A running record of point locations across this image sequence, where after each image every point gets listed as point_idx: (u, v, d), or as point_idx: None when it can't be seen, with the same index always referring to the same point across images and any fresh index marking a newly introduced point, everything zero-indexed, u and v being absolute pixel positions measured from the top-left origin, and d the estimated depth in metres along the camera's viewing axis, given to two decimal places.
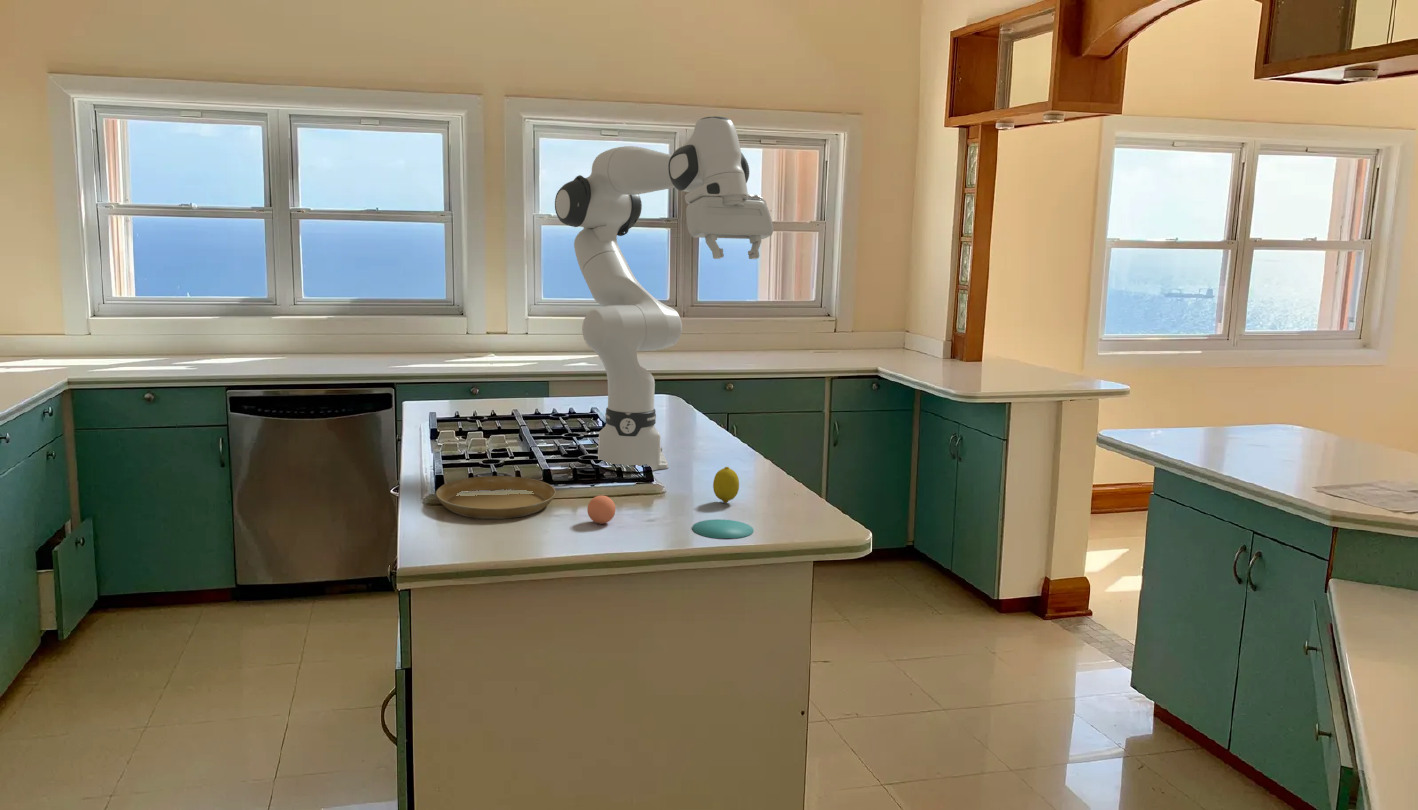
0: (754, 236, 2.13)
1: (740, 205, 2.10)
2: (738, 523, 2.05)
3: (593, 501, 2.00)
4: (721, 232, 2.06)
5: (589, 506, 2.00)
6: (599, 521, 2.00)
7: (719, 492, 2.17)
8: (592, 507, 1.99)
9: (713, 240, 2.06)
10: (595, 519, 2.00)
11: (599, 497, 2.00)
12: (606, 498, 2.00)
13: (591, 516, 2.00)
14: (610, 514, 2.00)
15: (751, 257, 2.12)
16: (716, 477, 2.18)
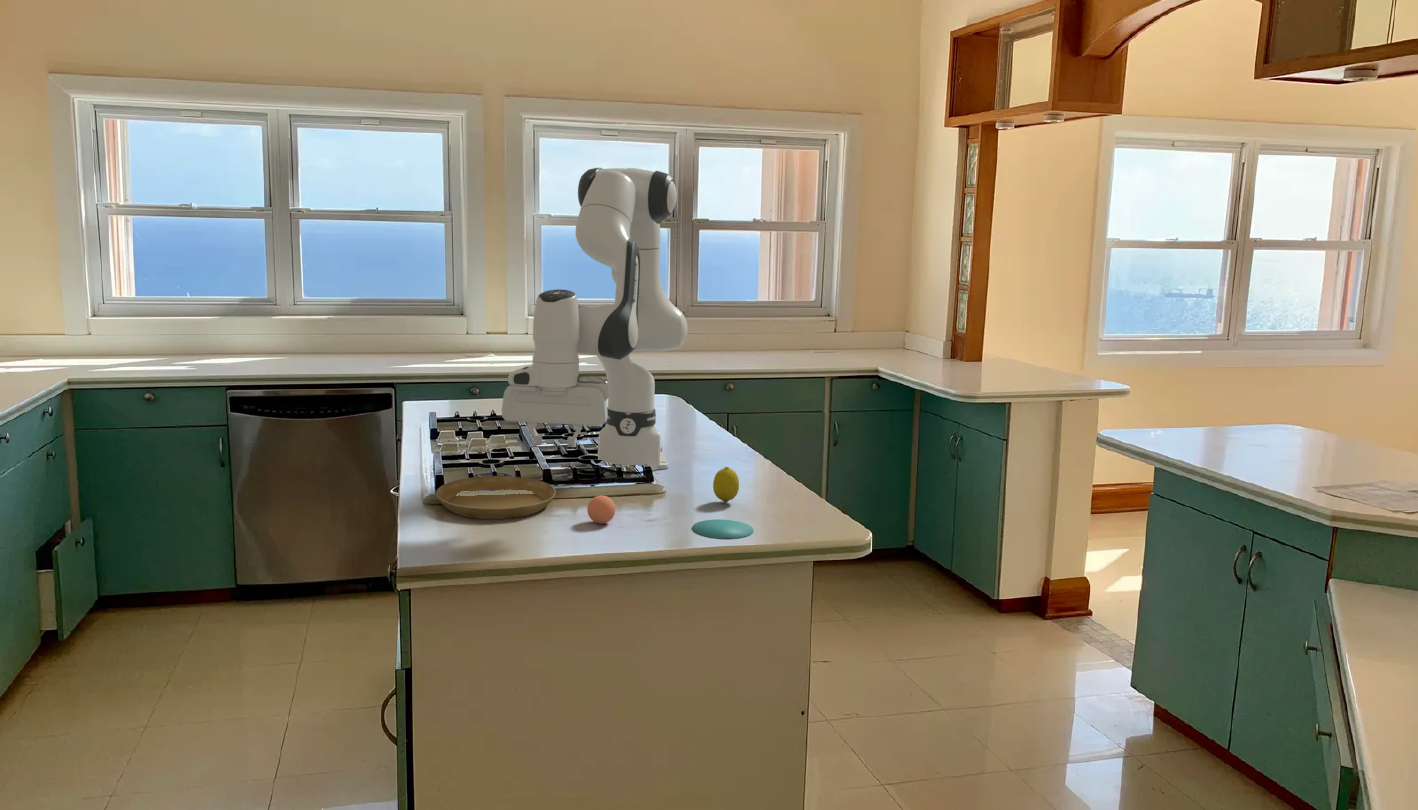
0: None
1: (559, 394, 1.95)
2: (738, 523, 2.05)
3: (593, 501, 2.00)
4: (531, 421, 1.97)
5: (589, 506, 2.00)
6: (599, 521, 2.00)
7: (719, 492, 2.17)
8: (592, 507, 1.99)
9: (529, 428, 1.98)
10: (595, 519, 2.00)
11: (599, 497, 2.00)
12: (606, 498, 2.00)
13: (591, 516, 2.00)
14: (610, 514, 2.00)
15: None
16: (716, 477, 2.18)
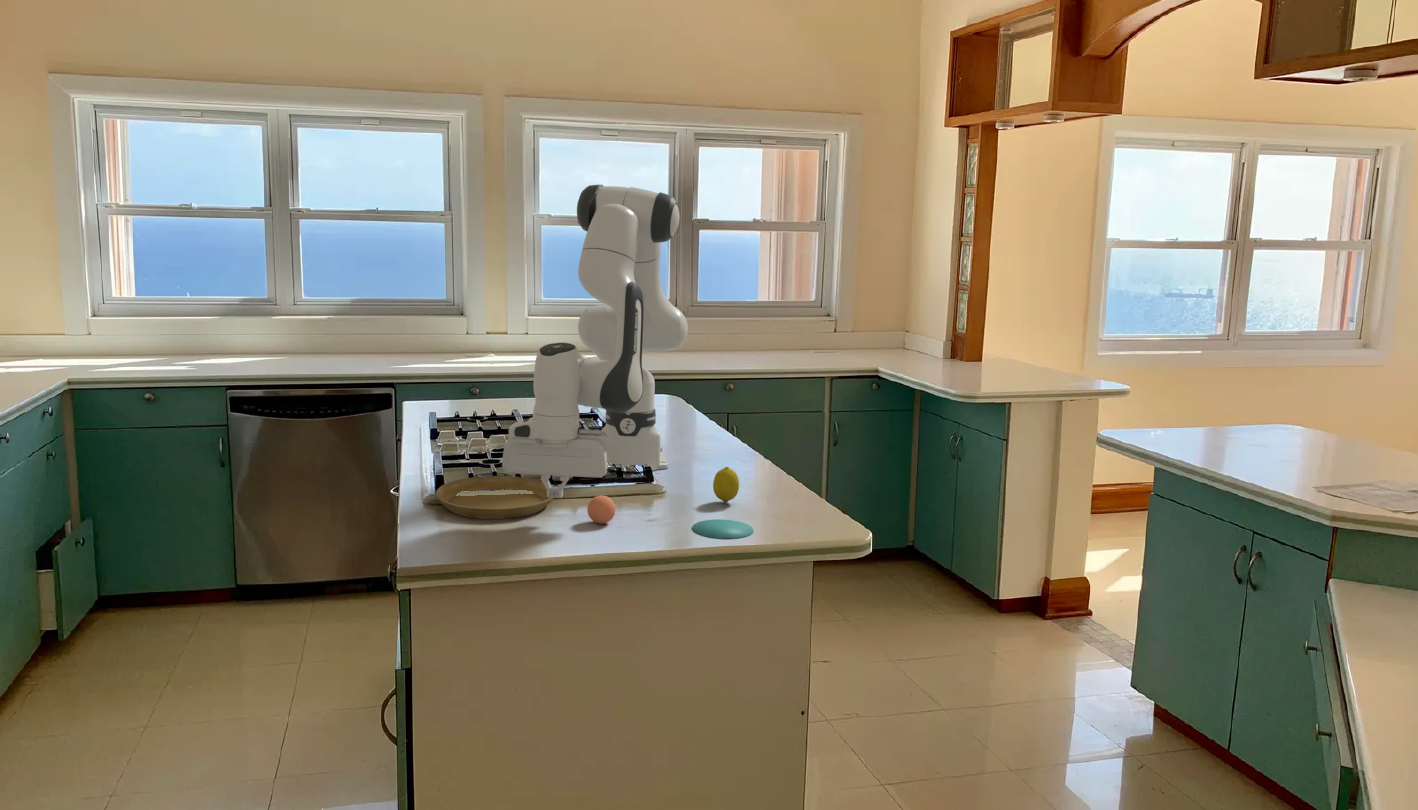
0: None
1: None
2: (738, 523, 2.05)
3: (593, 501, 2.00)
4: (531, 473, 1.98)
5: (589, 506, 2.00)
6: (599, 521, 2.00)
7: (719, 492, 2.17)
8: (592, 507, 1.99)
9: (543, 480, 1.99)
10: (595, 519, 2.00)
11: (599, 497, 2.00)
12: (606, 498, 2.00)
13: (591, 516, 2.00)
14: (610, 514, 2.00)
15: None
16: (716, 477, 2.18)
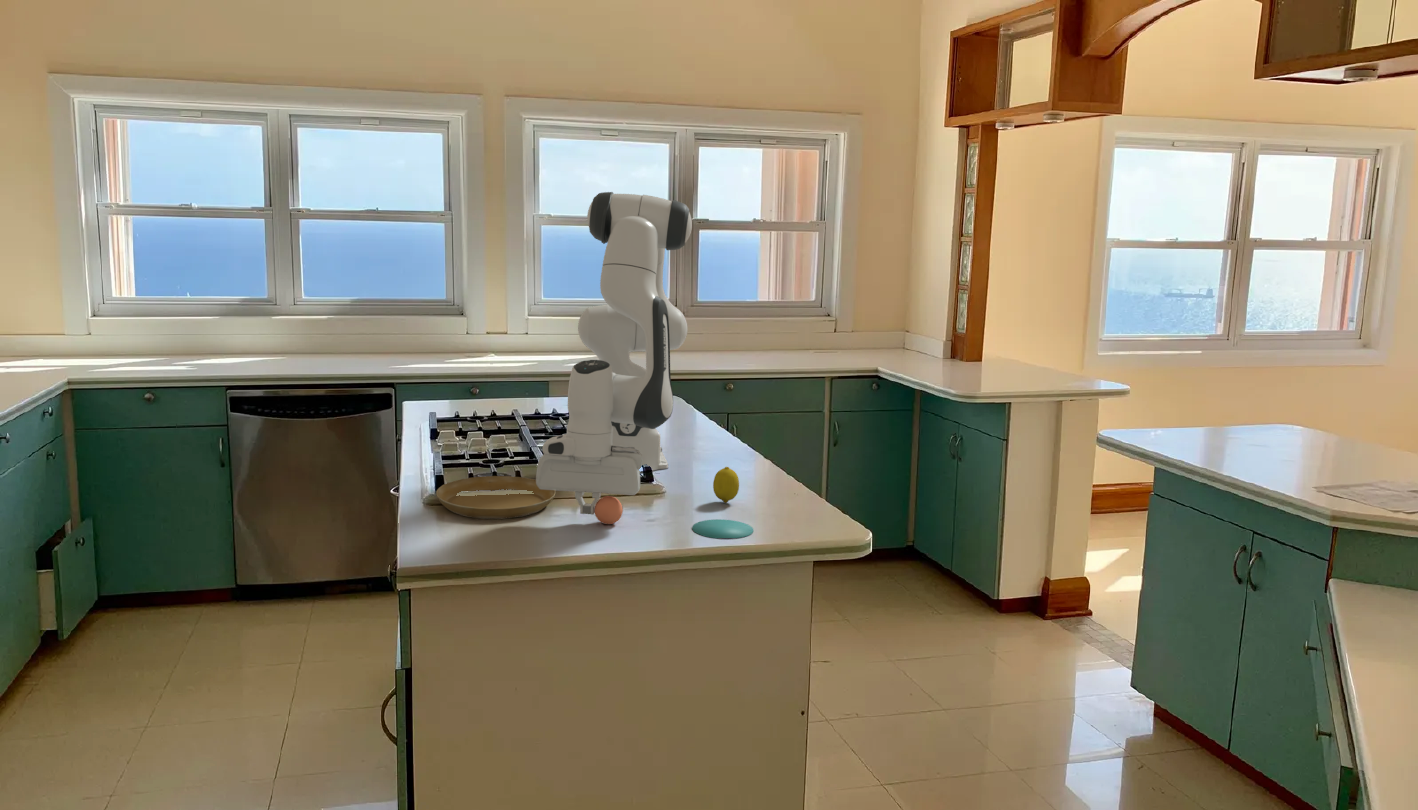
0: None
1: None
2: (738, 523, 2.05)
3: (603, 501, 1.99)
4: (564, 490, 1.99)
5: (598, 505, 1.99)
6: (604, 522, 2.00)
7: (719, 492, 2.17)
8: (602, 506, 1.99)
9: (576, 497, 2.00)
10: (601, 519, 1.99)
11: (610, 498, 2.00)
12: (616, 501, 2.00)
13: (598, 515, 1.99)
14: (617, 517, 2.00)
15: None
16: (716, 477, 2.18)
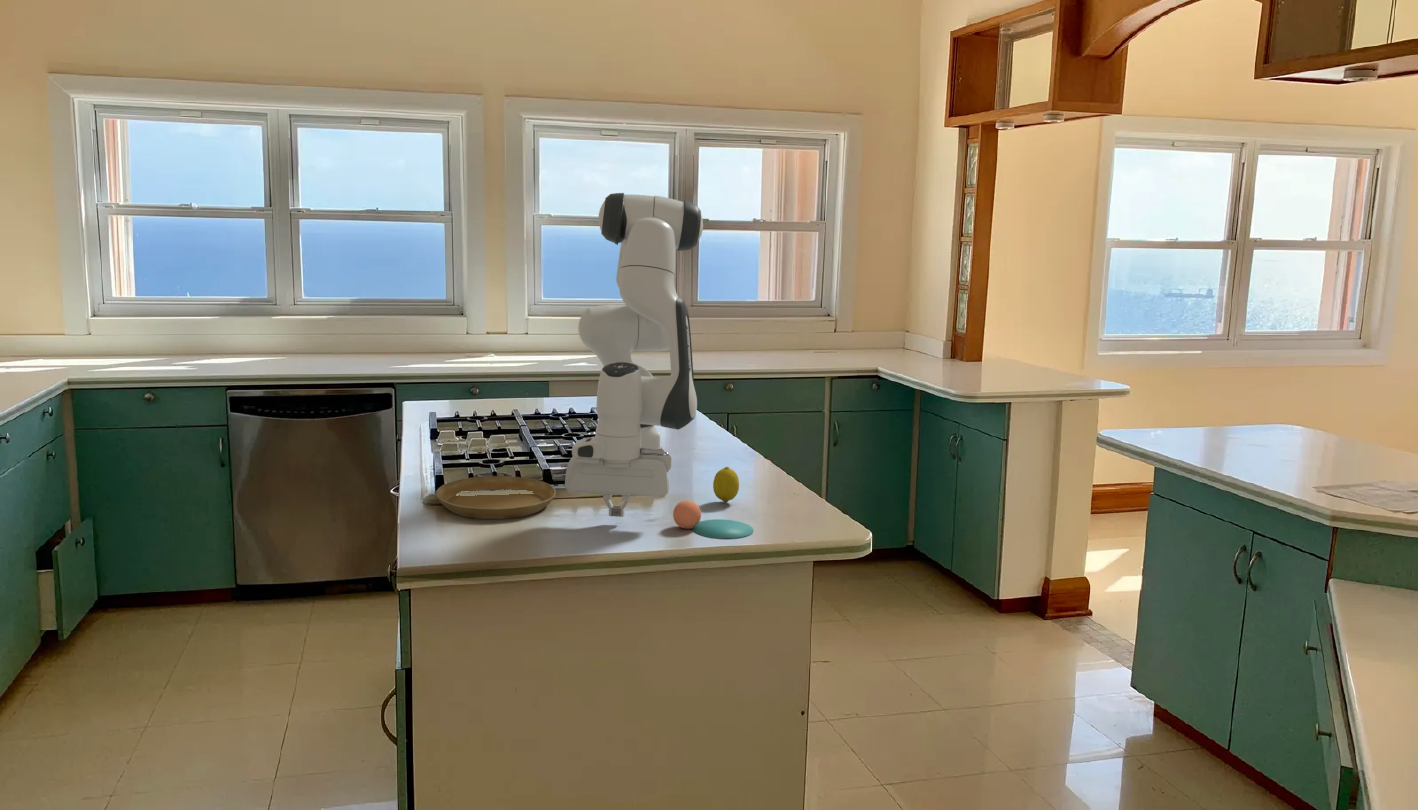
0: (622, 494, 2.00)
1: None
2: (738, 523, 2.05)
3: (676, 510, 1.99)
4: (594, 492, 1.99)
5: (675, 516, 1.99)
6: (690, 525, 1.99)
7: (719, 492, 2.17)
8: (678, 515, 1.98)
9: (605, 500, 2.00)
10: (686, 525, 1.99)
11: (680, 504, 1.99)
12: (687, 502, 1.99)
13: (681, 524, 1.99)
14: (697, 514, 1.99)
15: None
16: (716, 477, 2.18)
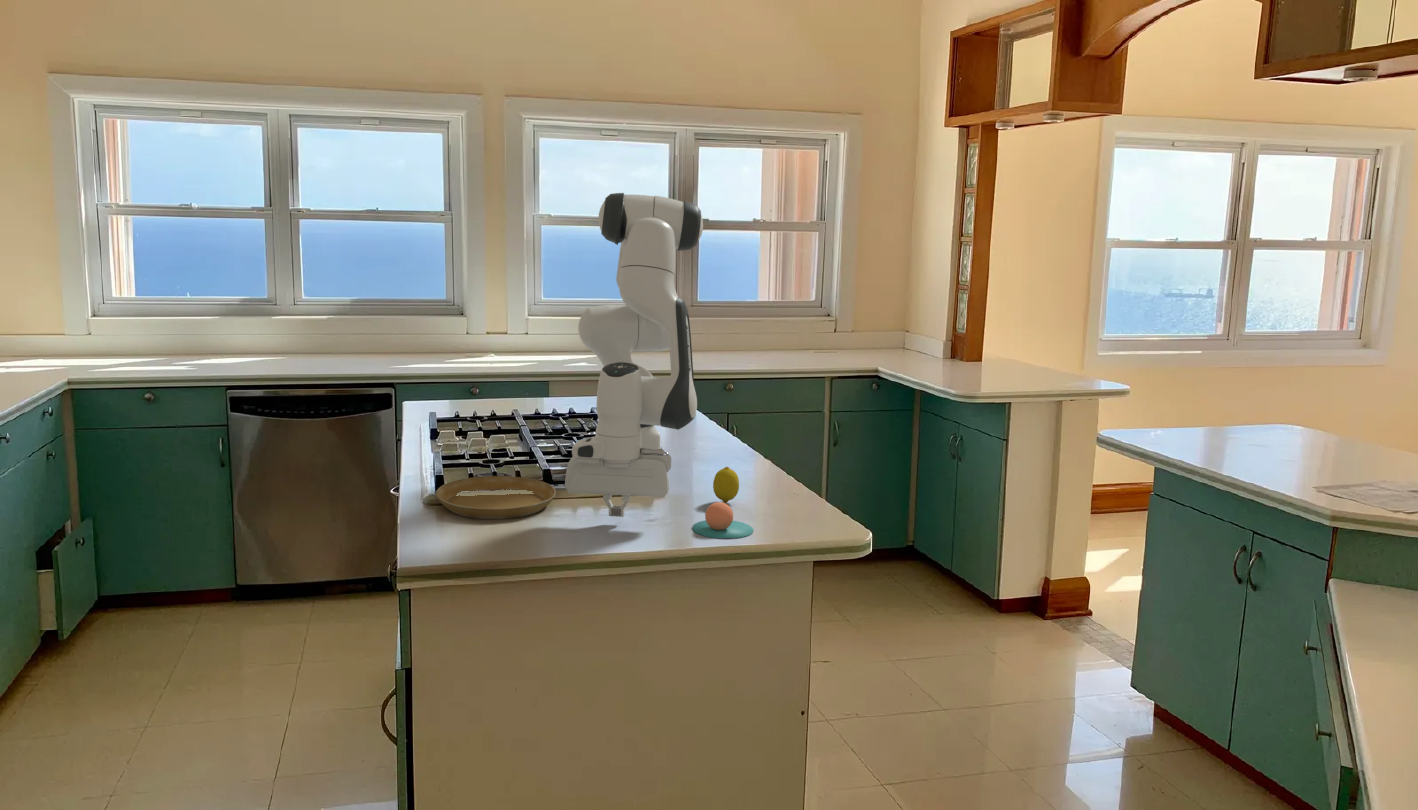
0: (622, 494, 2.00)
1: None
2: (738, 523, 2.05)
3: (730, 514, 1.99)
4: (594, 492, 1.99)
5: (726, 510, 1.98)
6: (709, 516, 1.98)
7: (719, 492, 2.17)
8: (725, 515, 1.98)
9: (605, 500, 2.00)
10: (712, 513, 1.98)
11: (732, 520, 1.99)
12: None
13: (716, 510, 1.98)
14: (713, 528, 1.99)
15: None
16: (716, 477, 2.18)
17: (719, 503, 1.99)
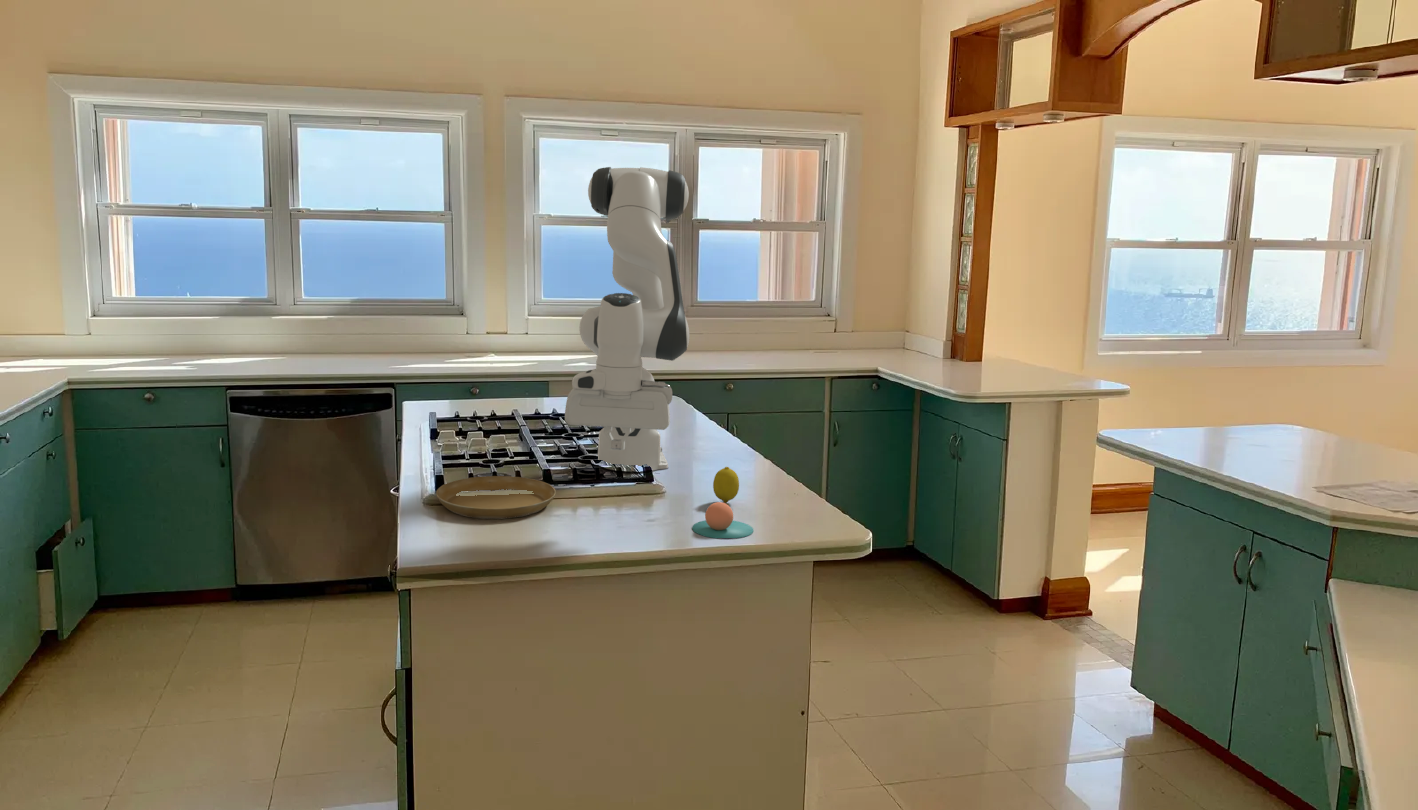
0: None
1: (623, 398, 1.95)
2: (738, 523, 2.05)
3: (730, 514, 1.99)
4: (594, 425, 1.97)
5: (726, 510, 1.98)
6: (709, 516, 1.98)
7: (719, 492, 2.17)
8: (725, 515, 1.98)
9: (605, 432, 1.98)
10: (712, 513, 1.98)
11: (732, 520, 1.99)
12: None
13: (716, 510, 1.98)
14: (713, 528, 1.99)
15: None
16: (716, 477, 2.18)
17: (719, 503, 1.99)
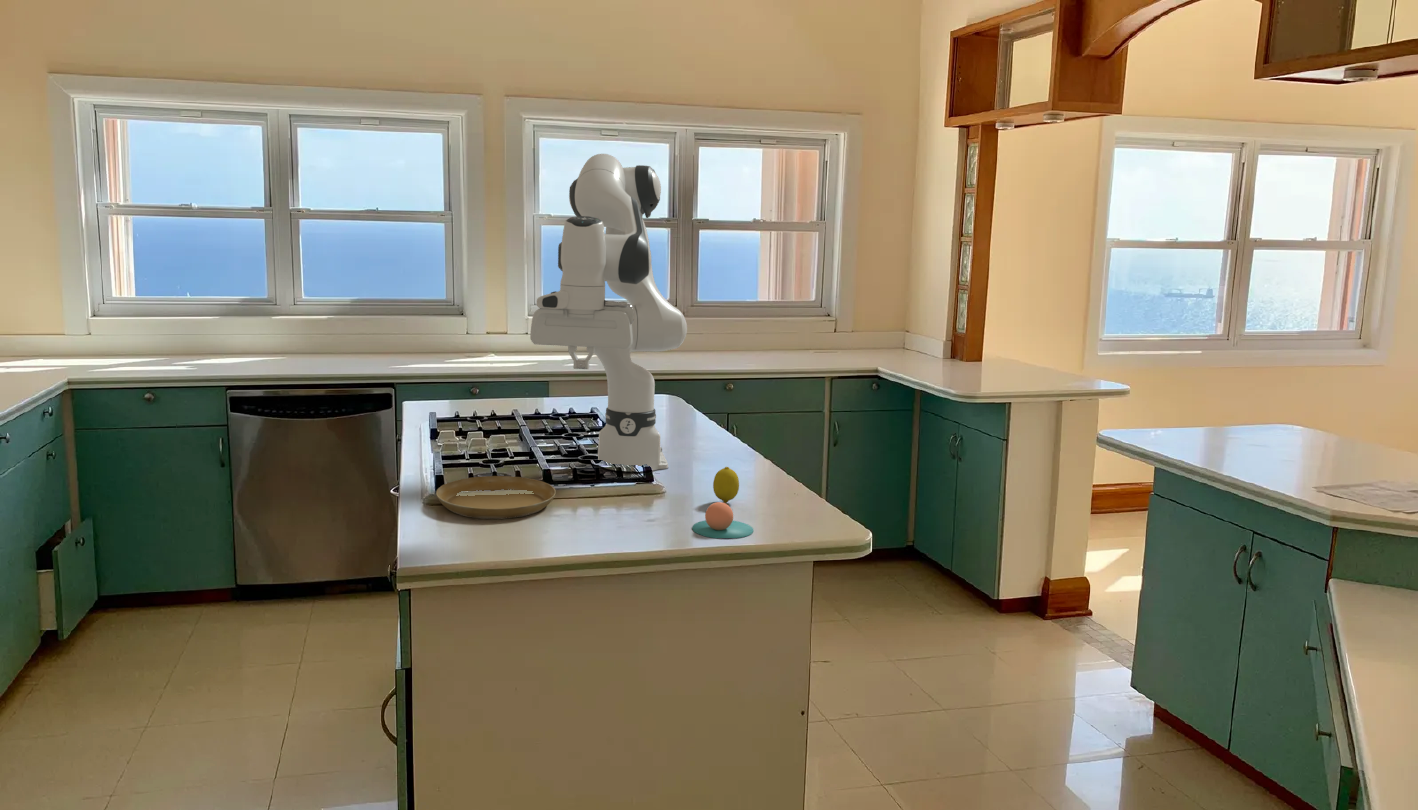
0: (586, 346, 2.04)
1: (586, 317, 2.01)
2: (738, 523, 2.05)
3: (730, 514, 1.99)
4: (558, 344, 2.03)
5: (726, 510, 1.98)
6: (709, 516, 1.98)
7: (719, 492, 2.17)
8: (725, 515, 1.98)
9: (569, 352, 2.04)
10: (712, 513, 1.98)
11: (732, 520, 1.99)
12: None
13: (716, 510, 1.98)
14: (713, 528, 1.99)
15: None
16: (716, 477, 2.18)
17: (719, 503, 1.99)
